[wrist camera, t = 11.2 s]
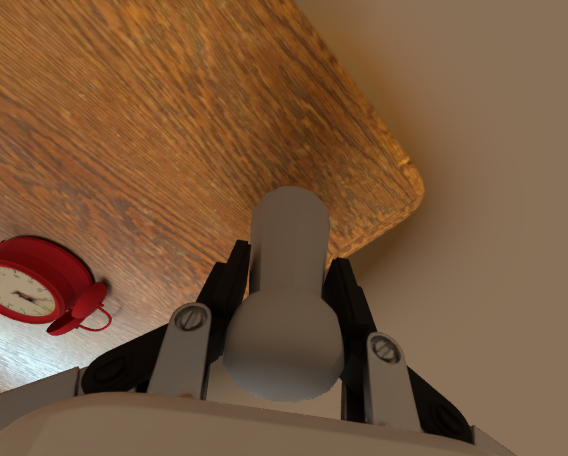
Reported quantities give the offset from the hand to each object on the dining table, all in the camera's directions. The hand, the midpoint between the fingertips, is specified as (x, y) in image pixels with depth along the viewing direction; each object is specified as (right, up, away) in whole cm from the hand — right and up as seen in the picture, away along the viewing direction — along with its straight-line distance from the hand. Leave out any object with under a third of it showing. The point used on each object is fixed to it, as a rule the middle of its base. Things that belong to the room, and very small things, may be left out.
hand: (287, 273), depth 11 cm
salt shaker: (0, +4, +7) cm, 8 cm away
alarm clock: (-28, -4, +16) cm, 33 cm away
